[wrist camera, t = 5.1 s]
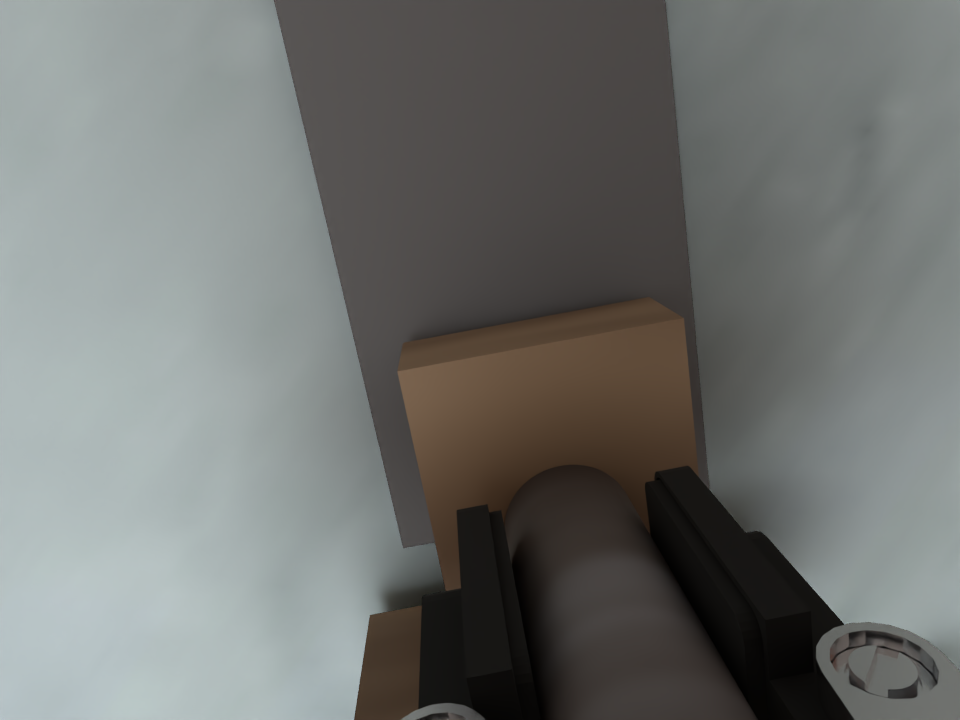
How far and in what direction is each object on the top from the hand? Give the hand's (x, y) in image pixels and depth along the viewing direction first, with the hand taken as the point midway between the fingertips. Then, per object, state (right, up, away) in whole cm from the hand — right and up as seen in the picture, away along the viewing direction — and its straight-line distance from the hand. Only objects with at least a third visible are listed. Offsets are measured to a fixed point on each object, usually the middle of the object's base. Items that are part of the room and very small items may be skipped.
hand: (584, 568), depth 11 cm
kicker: (0, +1, +3) cm, 3 cm away
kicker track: (-1, +6, +2) cm, 7 cm away
